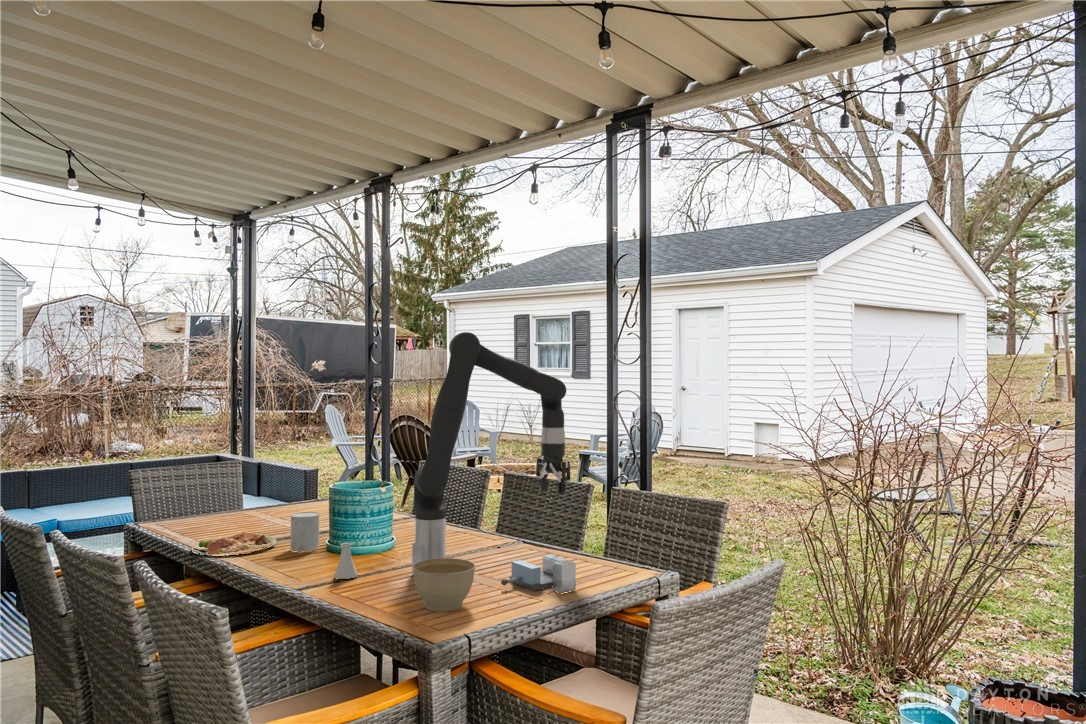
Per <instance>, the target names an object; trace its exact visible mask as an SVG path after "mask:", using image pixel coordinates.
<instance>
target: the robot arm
mask: <svg viewBox="0 0 1086 724" xmlns="http://www.w3.org/2000/svg"><path fill="white" fill-rule="evenodd" d="M480 342H481V341H480V339H479V338H478V336H477V335H476V334H475V333H472V332H471V331H462V332H460V333H458V334H456V335H454V337H452V339H451V341H450V342H449V347H448V350H449V355H450V356H449V362H448V368H447V372H446V376H445V378H444V381H443V383H442V385H441V387H440V389H439V392H438V394H437V398H436V401H435V404H434V407H433V412H432V415H431V420H430V429H429V430H430V433H429V447H428V451H427V455H426V458H425V461H424V463H423V465H421V466H420V467H419V468H418V469H417V470H416V472H415V473H414V478H413V504H414V515H415V517H414V519H415V520H414V523H415V525H414V538H415V539H414V542H413V543H412V549H411V550H412V552H411V553H412V556H411V558H412V563H411V564H412V565H411V569H412V570H411V571H412V572H411V574H412V575H413V576H414V571H413V565H414V564H416V563H418V562H420V561H423V560H428V559H436V558H446V543H447V541H446V539H447V538H446V536H447V535H446V532H447V531H446V527H447V521H446V520H447V519H446V516H447V514H446V513H447V510H446V505H445V495H444V494H445V493H444V491H446V488H447V486H448V484H449V483H448V482H449V477H450V469H451V462H452V458H453V457H452V455H453V453H454V449H455V446H456V442H457V439H458V436H459V433H460V429H461V426H462V422H463V418H464V414H465V410H466V405H467V400H468V393H469V387H470V381H471V377H472V374H473V371H474V368H475V366H476V367H478V368H480V369H484V370H486V371H489V372H491V373H493V374H494V375H496V376H498V377H500V378H503V379H504V380H507V381H508V382H511V383H512V384H515V385H517V386H519V387H521V388H523V389H525V390H528V391H532V392H535V393H536V394H538V395H540V400H541V401H540V402H541V409H542V418H541V423H542V424H541V426H542V427H541V434H540V435H541V437H540V438H541V440H540V442H541V444H540V446H541V447H540V450H541V451H540V452H541V457H537V458H536V469H535V475H536V477H538V478H539V479H540V490H541V491H542V492H546V491H548V489H549V488H548V483H549V481H548V480H549V479H548V478H549V475H551V474H552V475H554V477H556V479H557V481H558V482H557V494H558V495H565V494H566V483H567V482H569V481H571V462H570V461H564V460H563V458H564V457H565V456H566V448H565V447H566V442H565V441H566V435H565V433H566V432H565V412H564V410H563V408H562V406H563V405H562V403H563V402H562V399H565V397H566V394H567V386H566V385H565V383H564V382H563V381H562V380H561V379H559V378H556V377H554V376H552V375H548V374H546V373H543V372H541V371H539V370H537V369H535V368H533V367H531V366H529V364H528V365H527V364H525V363H524V362H521V361H519V360H516V359H513V358H511V357H509V356H505V355H502V354H501V353H500V354H499V353H497V352H496V351H493V350H491V349H489V348H487V347H486V346H484V345H482V344H481V343H480Z"/></svg>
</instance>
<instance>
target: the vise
mask: <svg viewBox="0 0 1086 724" xmlns="http://www.w3.org/2000/svg"><path fill="white" fill-rule="evenodd" d="M564 560H567V558H562V557H559V556H556V555H553V554H547V555H542V569H541V582H540V583H538V584H534V585H531V584H528V583H526V582H523V581H516V582H512V583H513V584H515V585H517V586H519V585H520V587H522V588H524V587H525V589H527V588H528V589H527V590H529V589H531V590H530V591H532V590H533V592H535V590H537V591H540V590H539V589H542V590H544V589H543V588H546V589H549V588H548V587H551V588H553V587H552V586H553V562H559V561H564ZM509 579H513V577H512V575H511V576H509Z"/></svg>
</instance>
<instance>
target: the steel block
mask: <svg viewBox="0 0 1086 724" xmlns="http://www.w3.org/2000/svg"><path fill="white" fill-rule="evenodd" d="M576 576H577V563H576V562H574V561H572V560H569V559H566V560H564V561H559V562H553V587H552V591H553V590H554V591H557V592H559V593H564V592H569V591H574V590H576V591H577V586H576V585H577V584H576V583H577V577H576ZM554 591H553V592H554ZM557 592H556V593H557ZM559 593H558V594H559Z"/></svg>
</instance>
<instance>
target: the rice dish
mask: <svg viewBox="0 0 1086 724" xmlns="http://www.w3.org/2000/svg"><path fill="white" fill-rule="evenodd" d="M267 540H270V541H271V542H269V543H272V545H271V546H269V547H267V548H265V549H268V548H270V547H273V546H274V545H275V544H276V543H277V539H276V538H275V537H273V536H271V535H267V534H264V533H263V534H262V533H260V532H255V531H254V532H247V531H243V532H241V533H237V534H233V535H224V536H218V537H214V538H211V539H202V540H200V542H198V543H197V544H194V545H193V547H191V548H192V549H193V548H194V547H195V546H197V545H199V547H205V548H208V550H207V551H208V554H223V553H228V552H237V551H240V550H243V551H245V550H253V549H260V548H263V547H260V548H259V547H258V546H256V545H262V544H268V541H267ZM265 549H264V550H265Z"/></svg>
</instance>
